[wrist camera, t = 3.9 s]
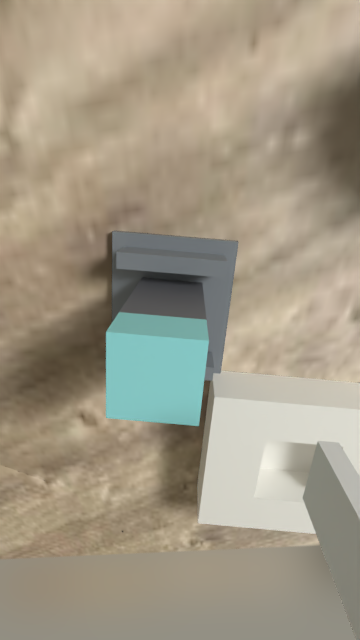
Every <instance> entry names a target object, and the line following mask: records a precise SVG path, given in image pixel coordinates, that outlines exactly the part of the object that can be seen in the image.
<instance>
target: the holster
mask: <svg viewBox="0 0 360 640" xmlns="http://www.w3.org/2000/svg"><path fill="white" fill-rule="evenodd" d="M237 248H238V241H232V240H220V239H208V238H196V237H184V236H172V235H160V234H148V233H136V232H124V231H112V322H113V321H114V319H115V318H116V316H117V315H118V313H119V312H120V310H121V309H122V307H123V305H124V304H125V302H126V301H127V299H128V298H129V296H130V295H131V293H132V292H133V290H134V289H135V287H136V286H137V284H138V283H139V281H140V280H141V278H142V277H144V278H156V279H168V280H179V281H191V282H202V284H203V293H204V302H205V310H206V319H207V328H208V337H209V344H208V353H207V361H206V370H205V378H204V380H209V381H213V373H218V374H220V373H221V366H222V359H223V351H224V344H225V337H226V329H227V322H228V315H229V307H230V300H231V293H232V285H233V278H234V271H235V263H236V256H237Z"/></svg>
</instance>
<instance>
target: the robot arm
mask: <svg viewBox="0 0 360 640" xmlns="http://www.w3.org/2000/svg"><path fill="white" fill-rule="evenodd" d="M303 501H304V503H305V506H306V508H307V511H308V514H309V516H310V519H311V522H312V524H313V527H314V530H315V532H316V535H317V538H318V540H319V543H320V545H321V548H322V551H323V553H324V556H325V559H326V561H327V564H328V567H329V569H330V572H331V575H332V577H333V580H334V583H335V585H336V587H337V590H338V593H339V596H340V598H341V600H342V604H343V606H344V609H345V612H346V614H347V617H348V620H349V622H350V625H351V627H352V630H353V633H354V635H355V638H356V640H360V476H359V475H358V473H357V471H356V470H355V468H354V466H353V465H352V463H351V462H350V460H349V458H348V457H347V455H346V454H345V452H344V450H343V449H342V447H341V445H340V444H339V443H338V442H327V441H318V442H317V446H316V449H315V453H314V457H313V461H312V464H311V468H310V472H309V476H308V479H307V483H306V487H305V491H304V494H303Z"/></svg>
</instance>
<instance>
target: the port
mask: <svg viewBox="0 0 360 640" xmlns="http://www.w3.org/2000/svg"><path fill="white" fill-rule="evenodd" d="M318 441H327V442H338V443H339V444H340V445H341V447H342V449H343V450H344V452H345V454H346V455H347V457H348V458H349V460H350V462H351V463H352V465H353V466H354V468H355V470H356V471H357V473H358V475H359V476H360V383H358V382H346V381H335V380H323V379H312V378H300V377H289V376H277V375H266V374H254V373H243V372H231V371H221V373H220V374H218V373H213V381H210V387H209V395H208V403H207V411H206V419H205V427H204V435H203V443H202V451H201V459H200V467H199V475H198V483H197V500H198V523H202V524H213V525H224V526H235V527H246V528H257V529H268V530H279V531H290V532H301V533H312V534H316V532H315V530H314V527H313V524H312V522H311V519H310V516H309V514H308V511H307V508H306V506H305V503H304V501H303V494H304V491H305V487H306V483H307V479H308V476H309V472H310V468H311V464H312V461H313V457H314V453H315V449H316V446H317V442H318Z"/></svg>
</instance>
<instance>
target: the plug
mask: <svg viewBox="0 0 360 640" xmlns="http://www.w3.org/2000/svg"><path fill="white" fill-rule="evenodd" d="M208 344H209V337H208V328H207V319H206V310H205V302H204V293H203V284H202V282H191V281H179V280H168V279H156V278H144V277H142V278H141V280H140V281H139V283H138V284H137V286H136V287H135V289H134V290H133V292H132V293H131V295H130V296H129V298H128V299H127V301H126V302H125V304H124V305H123V307H122V309H121V310H120V312H119V313H118V315H117V316H116V318H115V319H114V321H113V322H112V324H111V325H110V327H109V328H108V330H107V331H106V418H113V419H124V420H135V421H147V422H158V423H169V424H181V425H192V426H199V421H200V412H201V404H202V395H203V387H204V378H205V370H206V361H207V353H208Z"/></svg>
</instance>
